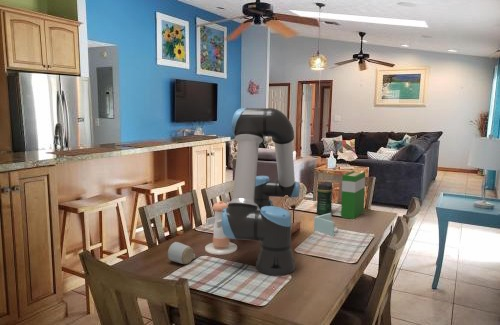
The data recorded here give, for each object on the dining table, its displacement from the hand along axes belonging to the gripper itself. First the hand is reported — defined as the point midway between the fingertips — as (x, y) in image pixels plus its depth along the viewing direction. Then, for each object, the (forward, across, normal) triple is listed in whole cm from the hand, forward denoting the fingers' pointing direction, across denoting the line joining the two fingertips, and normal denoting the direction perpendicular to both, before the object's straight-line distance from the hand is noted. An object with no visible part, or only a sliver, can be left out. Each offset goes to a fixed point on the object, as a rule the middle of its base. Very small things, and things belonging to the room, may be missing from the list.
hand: (212, 223), depth 165 cm
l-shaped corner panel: (-59, -24, -14) cm, 65 cm away
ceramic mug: (+14, +2, -13) cm, 20 cm away
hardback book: (-94, -18, -13) cm, 96 cm away
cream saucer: (-5, 0, -13) cm, 14 cm away
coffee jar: (-84, -5, -13) cm, 85 cm away
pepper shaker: (-5, 0, -11) cm, 12 cm away
